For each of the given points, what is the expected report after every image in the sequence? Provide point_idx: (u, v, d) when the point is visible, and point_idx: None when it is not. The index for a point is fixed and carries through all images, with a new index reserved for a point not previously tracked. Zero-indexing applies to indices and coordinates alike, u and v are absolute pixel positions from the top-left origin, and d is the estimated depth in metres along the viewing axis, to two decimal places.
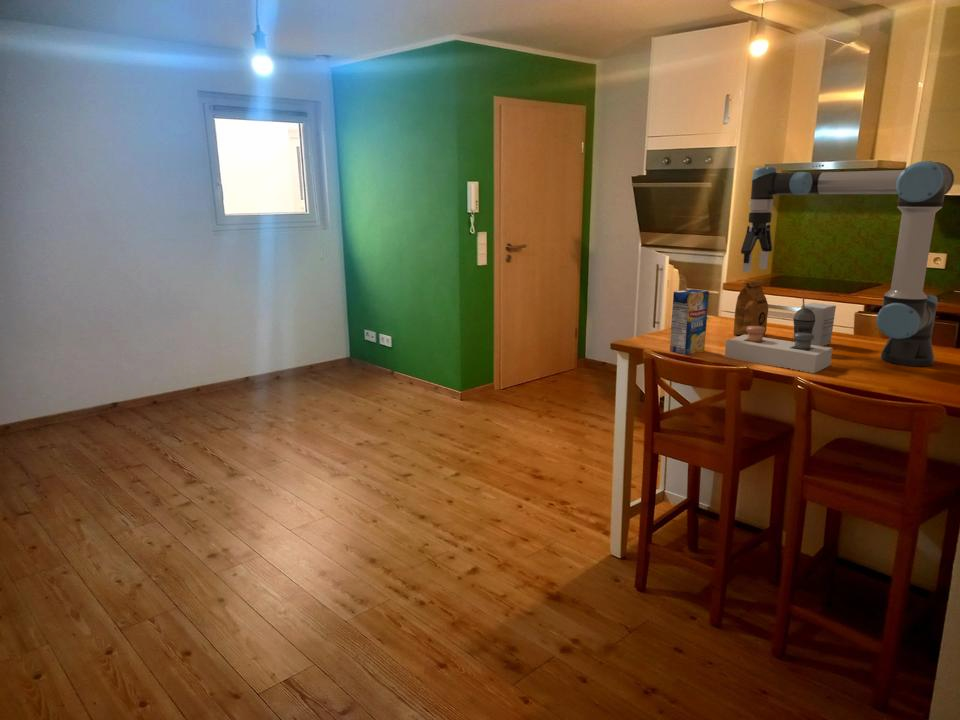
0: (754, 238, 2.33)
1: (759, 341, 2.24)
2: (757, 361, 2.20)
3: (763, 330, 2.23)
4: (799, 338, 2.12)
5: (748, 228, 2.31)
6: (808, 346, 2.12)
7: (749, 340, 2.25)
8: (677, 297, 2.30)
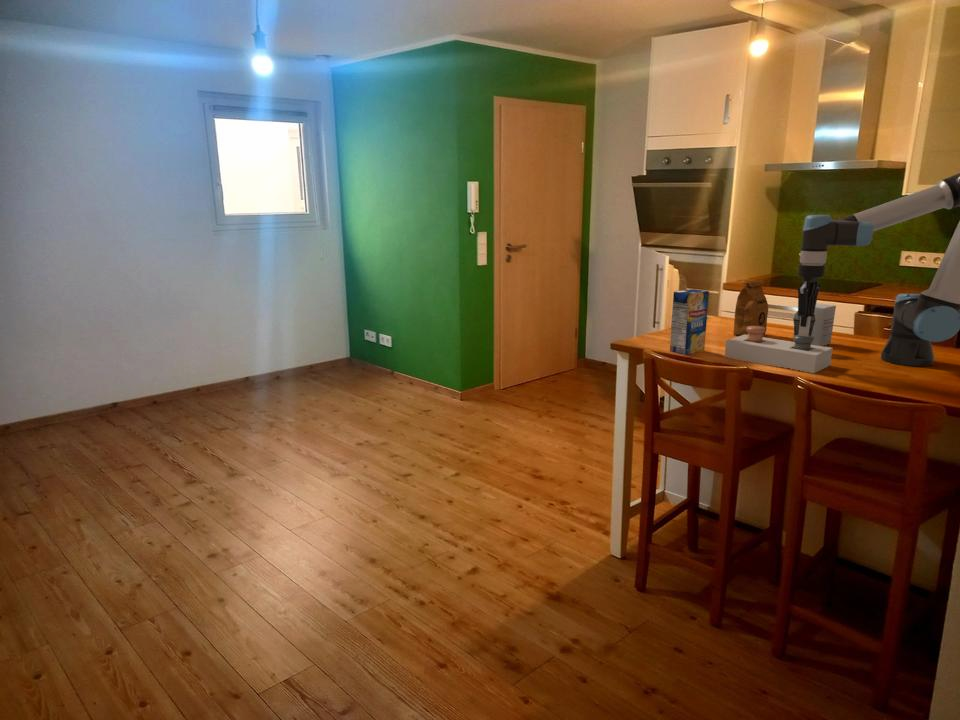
0: (808, 298, 2.09)
1: (759, 341, 2.24)
2: (757, 361, 2.20)
3: (763, 330, 2.23)
4: (799, 340, 2.12)
5: (799, 291, 2.06)
6: (808, 349, 2.13)
7: (749, 340, 2.25)
8: (677, 297, 2.30)
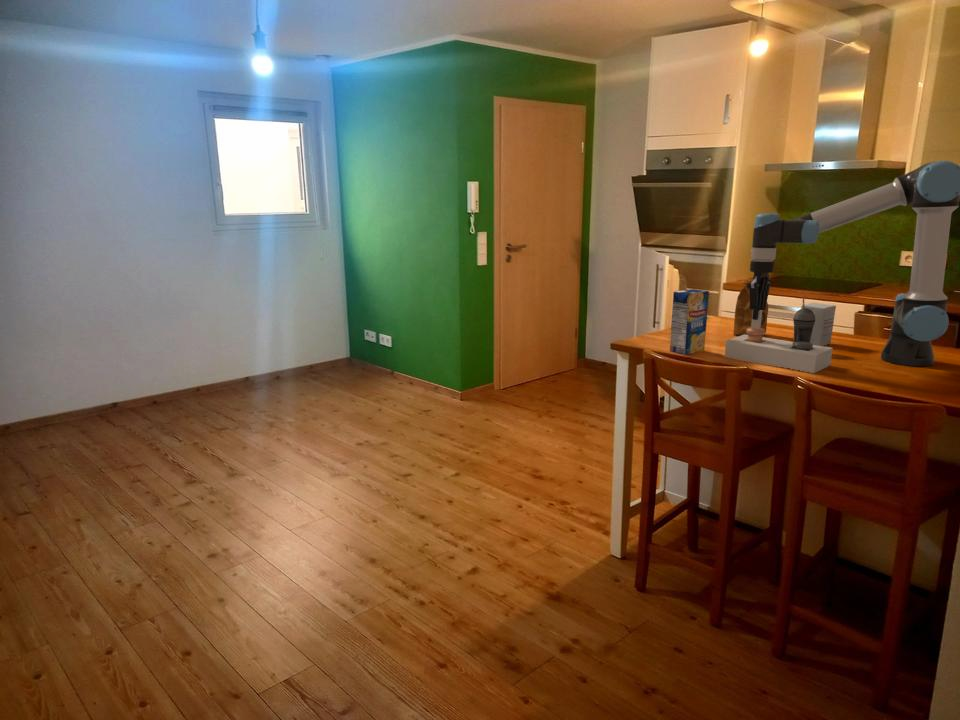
0: (759, 292, 2.20)
1: None
2: (757, 361, 2.20)
3: (763, 332, 2.23)
4: (798, 347, 2.13)
5: (750, 285, 2.18)
6: None
7: None
8: (677, 297, 2.30)
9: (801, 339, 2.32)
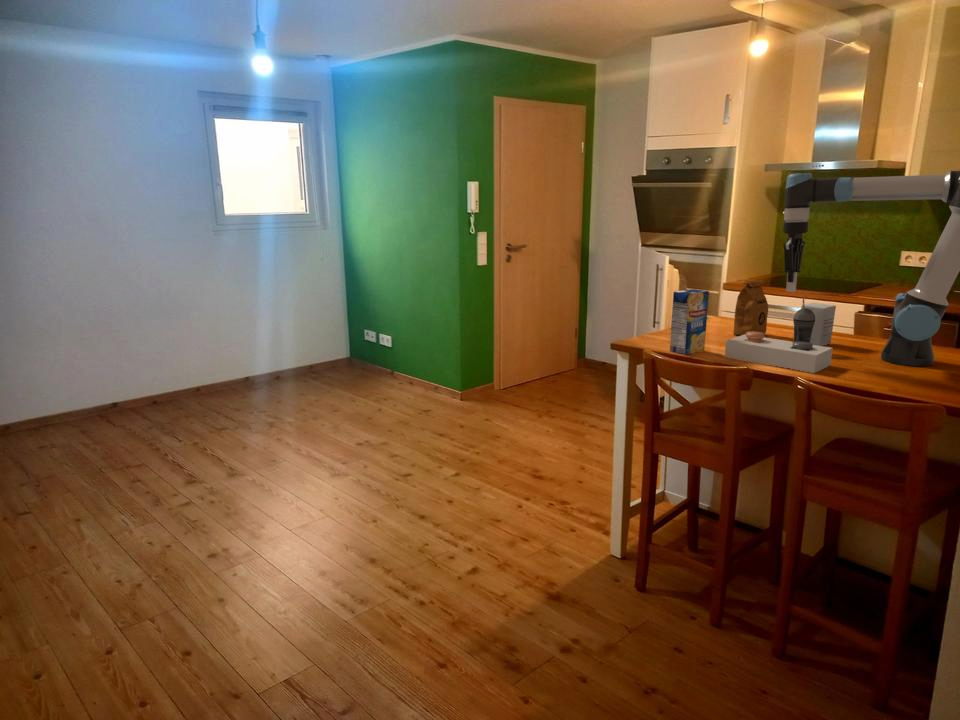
0: (793, 253, 2.17)
1: None
2: (757, 361, 2.20)
3: (762, 336, 2.23)
4: (798, 347, 2.13)
5: (785, 247, 2.15)
6: None
7: None
8: (677, 297, 2.30)
9: (801, 339, 2.32)
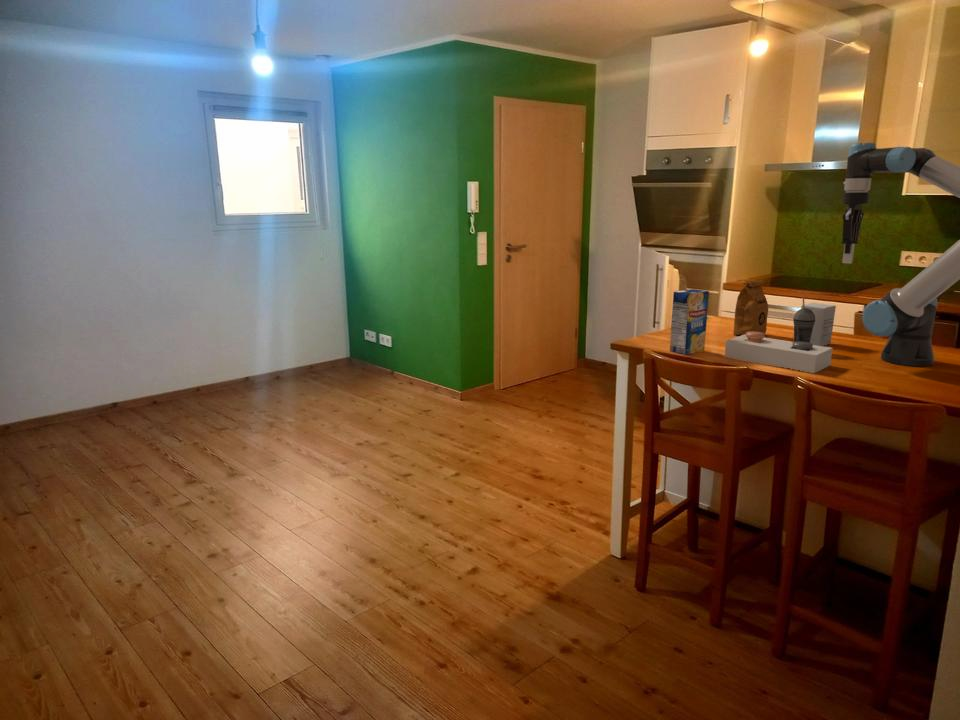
0: (852, 224, 2.16)
1: None
2: (757, 361, 2.20)
3: (762, 336, 2.23)
4: (798, 347, 2.13)
5: (844, 217, 2.14)
6: None
7: None
8: (677, 297, 2.30)
9: (801, 339, 2.32)
